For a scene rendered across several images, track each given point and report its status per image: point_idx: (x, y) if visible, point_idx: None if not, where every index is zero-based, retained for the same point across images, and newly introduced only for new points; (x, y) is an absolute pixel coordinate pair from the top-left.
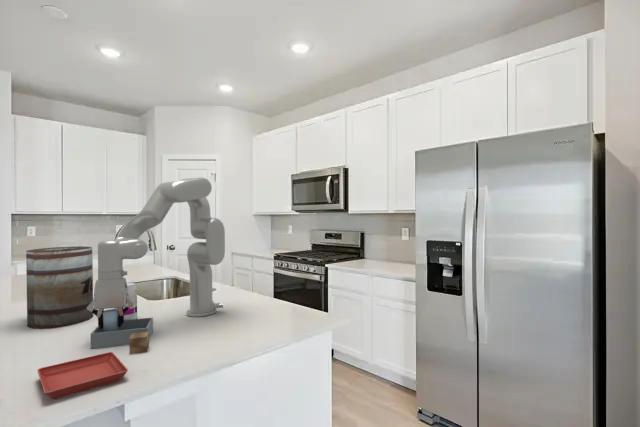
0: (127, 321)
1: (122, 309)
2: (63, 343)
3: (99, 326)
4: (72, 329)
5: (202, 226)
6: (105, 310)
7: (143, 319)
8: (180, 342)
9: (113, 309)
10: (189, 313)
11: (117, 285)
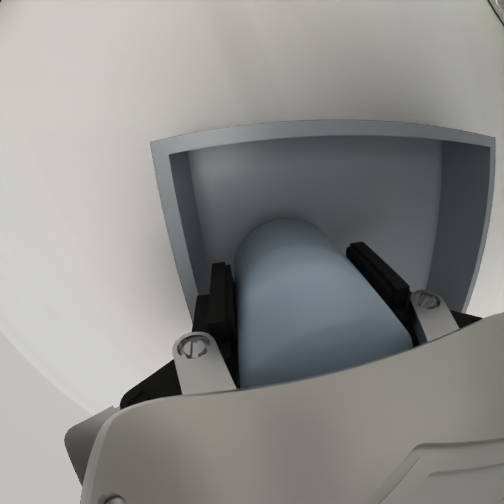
0: (374, 134)
1: (438, 332)
2: (47, 242)
3: (191, 264)
4: (3, 46)
5: None
6: (258, 379)
7: (460, 141)
8: (484, 298)
9: (356, 346)
10: (501, 8)
11: None
